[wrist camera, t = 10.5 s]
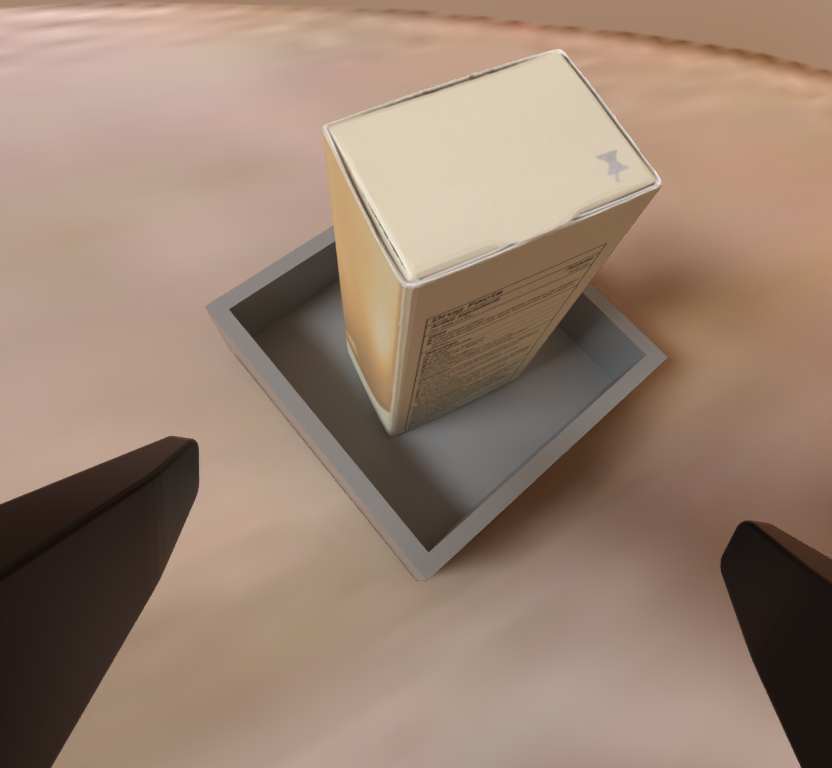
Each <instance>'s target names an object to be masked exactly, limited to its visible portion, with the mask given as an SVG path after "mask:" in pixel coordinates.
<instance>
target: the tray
mask: <svg viewBox="0 0 832 768" xmlns="http://www.w3.org/2000/svg"><path fill="white" fill-rule="evenodd" d="M205 308H206V310H207V311H208V313H209V315H210V317H211V318H212V320H213V322H214V323H215V325H216V327H217V329H218V330H219V332H220V334H221V335H222V337H223V339H224V341H225V342H226V344H227V346H228V347H229V348H230V350H231V351H232V352H233V353H234V355H235V356H236V357H237V358H238V360H239V361H240V362H241V363H242V365H243V366H244V367H245V368H246V370H247V371H248V372H249V373H250V375H251V376H252V377H253V378H254V379H255V381H256V382H257V383H258V384H259V386H260V387H261V388H262V389H263V391H264V392H265V393H266V394H267V396H268V397H269V398H270V399H271V401H272V402H273V403H274V404H275V406H276V407H277V408H278V409H279V411H280V412H281V413H282V414H283V416H284V417H285V418H286V419H287V421H288V422H289V423H290V424H291V425H292V427H293V428H294V429H295V430H296V432H297V433H298V434H299V435H300V437H301V438H302V439H303V440H304V442H305V443H306V444H307V445H308V447H309V448H310V449H311V450H312V452H313V453H314V454H315V455H316V457H317V458H318V459H319V460H320V462H321V463H322V464H323V465H324V467H325V468H326V469H327V470H328V471H329V473H330V474H331V475H332V476H333V478H334V479H335V480H336V481H337V483H338V484H339V485H340V486H341V488H342V489H343V490H344V491H345V493H346V494H347V495H348V496H349V498H350V499H351V500H352V501H353V503H354V504H355V505H356V506H357V508H358V509H359V510H360V511H361V513H362V514H363V515H364V516H365V517H366V519H367V520H368V521H369V522H370V524H371V525H372V526H373V527H374V529H375V530H376V531H377V532H378V534H379V535H380V536H381V537H382V539H383V540H384V541H385V542H386V544H387V545H388V546H389V547H390V549H391V550H392V551H393V552H394V554H395V555H396V556H397V557H398V559H399V560H400V561H401V562H402V563H403V565H404V566H405V567H406V568H407V570H408V571H409V572H410V573H411V575H412V576H413V577H414V578H415V580H416V581H427V580H428V579H429V578H431V577H432V576H433V575H434V574H435V573H436V572H437V571H438V570H439V569H440V568H441V567H442V566H444V565H445V564H446V563H447V562H448V561H449V560H450V559H451V558H452V557H453V556H454V555H455V554H456V553H458V552H459V551H460V550H461V549H462V548H463V547H464V546H465V545H466V544H467V543H468V542H469V541H470V540H472V539H473V538H474V537H475V536H476V535H477V534H478V533H479V532H480V531H481V530H482V529H483V528H484V527H486V526H487V525H488V524H489V523H490V522H491V521H492V520H493V519H494V518H495V517H496V516H497V515H499V514H500V513H501V512H502V511H503V510H504V509H505V508H506V507H507V506H508V505H509V504H510V503H511V502H513V501H514V500H515V499H516V498H517V497H518V496H519V495H520V494H521V493H522V492H523V491H524V490H525V489H527V488H528V487H529V486H530V485H531V484H532V483H533V482H534V481H535V480H536V479H537V478H538V477H539V476H541V475H542V474H543V473H544V472H545V471H546V470H547V469H548V468H549V467H550V466H551V465H552V464H553V463H555V462H556V461H557V460H558V459H559V458H560V457H561V456H562V455H563V454H564V453H565V452H566V451H568V450H569V449H570V448H571V447H572V446H573V445H574V444H575V443H576V442H577V441H578V440H579V439H580V438H582V437H583V436H584V435H585V434H586V433H587V432H588V431H589V430H590V429H591V428H592V427H593V426H594V425H596V424H597V423H598V422H599V421H600V420H601V419H602V418H603V417H604V416H605V415H606V414H607V413H608V412H610V411H611V410H612V409H613V408H614V407H615V406H616V405H617V404H618V403H619V402H620V401H621V400H622V399H624V398H625V397H626V396H627V395H628V394H629V393H630V392H631V391H632V390H633V389H634V388H635V387H637V386H638V385H639V384H640V383H641V382H642V381H643V380H644V379H645V378H646V377H647V376H648V375H649V374H651V373H652V372H653V371H654V370H655V369H656V368H657V367H658V366H659V365H660V364H661V363H662V362H663V361H665V360H666V359H667V358H668V357H667V356H666V355H665V354H664V353H663V352H662V351H661V350H660V349H659V348H658V347H657V346H656V345H655V344H654V343H653V342H652V341H651V340H650V339H649V338H647V337H646V336H645V335H644V334H643V333H642V332H641V331H640V330H639V329H638V328H637V327H636V326H635V325H634V324H633V323H632V322H631V321H630V320H629V319H628V318H627V317H626V316H625V315H624V314H623V313H622V312H621V311H620V310H619V309H618V308H617V307H616V306H615V305H614V304H613V303H612V302H611V301H610V300H609V299H607V298H606V297H605V296H604V295H603V294H602V293H601V292H600V291H599V290H598V289H597V288H596V287H595V286H594V285H593V284H592V283H591V282H589V284H588V285H587V286H586V288H585V289H584V290H583V292H582V293H581V294H580V296H579V297H578V298H577V300H576V301H575V302H574V304H573V305H572V306H571V308H570V309H569V310H568V312H567V313H566V314H565V316H564V317H563V318H562V320H561V321H560V322H559V324H558V325H557V326H556V328H555V329H554V330H553V332H552V333H551V334H550V336H549V337H548V338H547V340H546V341H545V342H544V344H543V345H542V346H541V348H540V349H539V350H538V352H537V353H536V354H535V356H534V357H533V358H532V360H531V361H530V363H529V364H528V365H527V366H526V368H525V369H524V370H523V372H522V373H521V375H520V376H519V377H518V378H517V379H515V380H513V381H511V382H509V383H507V384H505V385H503V386H502V387H500V388H498V389H496V390H494V391H492V392H490V393H488V394H486V395H484V396H482V397H480V398H478V399H476V400H474V401H472V402H470V403H467V404H465V405H463V406H461V407H459V408H457V409H455V410H453V411H451V412H449V413H446V414H444V415H442V416H440V417H438V418H436V419H433V420H431V421H429V422H427V423H424V424H422V425H420V426H418V427H415V428H413V429H411V430H408V431H406V432H404V433H401V434H399V435H396V436H389V435H388V434H387V433H386V431H385V429H384V427H383V425H382V423H381V421H380V419H379V417H378V415H377V413H376V411H375V409H374V407H373V405H372V403H371V401H370V399H369V397H368V395H367V393H366V390H365V388H364V386H363V384H362V382H361V379H360V377H359V375H358V373H357V371H356V369H355V366H354V364H353V362H352V359H351V357H350V355H349V353H348V348H347V341H346V331H345V321H344V313H343V304H342V296H341V288H340V278H339V270H338V260H337V252H336V241H335V234H334V225H333V226H332V227H330V228H329V229H327V230H326V231H324V232H322V233H321V234H319V235H318V236H316V237H314V238H313V239H311V240H310V241H308V242H306V243H305V244H303V245H302V246H300V247H299V248H297V249H295V250H294V251H292V252H291V253H289V254H287V255H286V256H284V257H283V258H281V259H280V260H278V261H276V262H275V263H273V264H272V265H270V266H268V267H267V268H265V269H264V270H262V271H260V272H259V273H257V274H256V275H254V276H253V277H251V278H249V279H248V280H246V281H245V282H243V283H241V284H240V285H238V286H237V287H235V288H234V289H232V290H230V291H229V292H227V293H226V294H224V295H222V296H221V297H219V298H218V299H216V300H214V301H213V302H211V303H210V304H208V305H207V306H205Z"/></svg>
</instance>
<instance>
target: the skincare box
mask: <svg viewBox="0 0 832 768" xmlns="http://www.w3.org/2000/svg"><path fill="white" fill-rule="evenodd" d="M323 137H324V145H325V154H326V162H327V171H328V180H329V188H330V196H331V206H332V216H333V224H334V234H335V241H336V252H337V260H338V270H339V278H340V288H341V296H342V304H343V313H344V321H345V331H346V341H347V348H348V353H349V355H350V357H351V359H352V362H353V364H354V366H355V369H356V371H357V373H358V375H359V377H360V379H361V382H362V384H363V386H364V388H365V390H366V393H367V395H368V397H369V399H370V401H371V403H372V405H373V407H374V409H375V411H376V413H377V415H378V417H379V419H380V421H381V423H382V425H383V427H384V429H385V431H386V433H387V434H388V435H389V436H396V435H399V434H401V433H404V432H406V431H408V430H411V429H413V428H415V427H418V426H420V425H422V424H424V423H427V422H429V421H431V420H433V419H436V418H438V417H440V416H442V415H444V414H446V413H449V412H451V411H453V410H455V409H457V408H459V407H461V406H463V405H465V404H467V403H470V402H472V401H474V400H476V399H478V398H480V397H482V396H484V395H486V394H488V393H490V392H492V391H494V390H496V389H498V388H500V387H502V386H503V385H505V384H507V383H509V382H511V381H513V380H515V379H517V378H518V377H519V376H520V375H521V373H522V372H523V370H524V369H525V368H526V366H527V365H528V364H529V363H530V361H531V360H532V358H533V357H534V356H535V354H536V353H537V352H538V350H539V349H540V348H541V346H542V345H543V344H544V342H545V341H546V340H547V338H548V337H549V336H550V334H551V333H552V332H553V330H554V329H555V328H556V326H557V325H558V324H559V322H560V321H561V320H562V318H563V317H564V316H565V314H566V313H567V312H568V310H569V309H570V308H571V306H572V305H573V304H574V302H575V301H576V300H577V298H578V297H579V296H580V294H581V293H582V292H583V290H584V289H585V288H586V286H587V285H588V284H589V282H590V281H591V280H592V279H593V277H594V276H595V275H596V273H597V272H598V271H599V269H600V268H601V266H602V265H603V264H604V262H605V261H606V260H607V258H608V257H609V256H610V255H611V253H612V252H613V251H614V249H615V248H616V246H617V245H618V244H619V242H620V241H621V240H622V238H623V237H624V236H625V234H626V233H627V232H628V230H629V229H630V228H631V226H632V225H633V224H634V222H635V221H636V220H637V218H638V217H639V216H640V214H641V213H642V212H643V210H644V209H645V208H646V206H647V205H648V204H649V202H650V201H651V200H652V198H653V197H654V196H655V194H656V193H657V192H658V191H659V189H660V188H661V186H662V180H661V179H660V177H659V175H658V174H657V172H656V171H655V170H654V169H653V167H652V166H651V165H650V164H649V163H648V161H647V160H646V159H645V158H644V156H643V154H642V153H641V151H640V150H639V148H638V147H637V146H636V145H635V143H634V142H633V140H632V139H631V138H630V136H629V135H628V133H627V132H626V131H625V129H624V128H623V127H622V125H621V124H620V123H619V121H618V120H617V119H616V117H615V116H614V115H613V113H612V112H611V111H610V109H609V108H608V106H607V105H606V104H605V102H604V101H603V100H602V98H601V97H600V96H599V95H598V93H597V92H596V91H595V89H594V88H593V86H592V85H591V84H590V83H589V81H588V80H587V79H586V77H585V76H584V75H583V74H582V73H581V72H580V71H579V70H578V68H577V67H576V66H575V64H574V63H573V62H572V61H571V60H570V58H569V57H568V55H567V54H566V53H565V52H564V51H563V50H560V49H555V50H551V51H548V52H544V53H541V54H536V55H532V56H529V57H526V58H523V59H519V60H515V61H511V62H509V63H505V64H502V65H498V66H495V67H492V68H488V69H485V70H483V71H479V72H476V73H472V74H469V75H467V76H464V77H461V78H458V79H455V80H451V81H448V82H445V83H442V84H440V85H437V86H433V87H430V88H427V89H424V90H421V91H419V92H415V93H413V94H409V95H406V96H404V97H401V98H398V99H395V100H392V101H389V102H386V103H383V104H381V105H378V106H375V107H373V108H370V109H366V110H363V111H361V112H358V113H356V114H353V115H350V116H348V117H345V118H342V119H339V120H336V121H333V122H330V123H327V124H325V125H324V127H323Z"/></svg>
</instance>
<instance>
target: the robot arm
mask: <svg viewBox="0 0 832 768" xmlns="http://www.w3.org/2000/svg"><path fill="white" fill-rule="evenodd" d="M198 488H199V447H198V443H197V442H196V441H195V440H194V439H190V438H183V437H176V436H169V437H166V438H164V439H161V440H159V441H156V442H154V443H151V444H149V445H146V446H144V447H141V448H139V449H136V450H134V451H131V452H129V453H126V454H124V455H121V456H119V457H116V458H114V459H111V460H109V461H107V462H104V463H102V464H99V465H97V466H94V467H92V468H89V469H87V470H84V471H82V472H79V473H77V474H74V475H72V476H69V477H67V478H64V479H62V480H59V481H57V482H54V483H52V484H49V485H47V486H44V487H42V488H39V489H37V490H35V491H32V492H30V493H27V494H25V495H22V496H20V497H17V498H15V499H12V500H10V501H7V502H5V503H2V504H0V768H51V767H52V765H53V764H54V762H55V760H56V758H57V757H58V755H59V753H60V751H61V750H62V748H63V746H64V745H65V743H66V741H67V739H68V738H69V736H70V734H71V733H72V731H73V729H74V727H75V726H76V724H77V722H78V720H79V719H80V717H81V715H82V714H83V712H84V710H85V708H86V707H87V705H88V703H89V702H90V700H91V698H92V696H93V695H94V693H95V691H96V689H97V688H98V686H99V684H100V683H101V681H102V679H103V677H104V676H105V674H106V672H107V671H108V669H109V667H110V665H111V664H112V662H113V660H114V658H115V657H116V655H117V653H118V652H119V650H120V648H121V646H122V645H123V643H124V641H125V640H126V638H127V636H128V634H129V633H130V631H131V629H132V627H133V626H134V624H135V622H136V621H137V619H138V617H139V615H140V614H141V612H142V610H143V609H144V607H145V605H146V603H147V602H148V600H149V598H150V596H151V595H152V593H153V591H154V589H155V587H156V586H157V584H158V582H159V580H160V578H161V576H162V574H163V572H164V569H165V567H166V565H167V563H168V561H169V558H170V556H171V554H172V551H173V549H174V547H175V544H176V542H177V540H178V538H179V535H180V533H181V531H182V528H183V526H184V524H185V522H186V519H187V517H188V515H189V512H190V510H191V508H192V505H193V503H194V501H195V498H196V496H197V493H198ZM720 567H721V573H722V576H723V579H724V582H725V585H726V588H727V590H728V593H729V596H730V599H731V602H732V605H733V608H734V611H735V613H736V616H737V619H738V622H739V625H740V628H741V631H742V633H743V636H744V639H745V642H746V645H747V648H748V650H749V653H750V656H751V658H752V661H753V663H754V665H755V668H756V670H757V672H758V675H759V677H760V679H761V681H762V683H763V686H764V688H765V690H766V692H767V694H768V697H769V699H770V701H771V703H772V705H773V707H774V710H775V712H776V714H777V716H778V718H779V721H780V723H781V725H782V727H783V729H784V731H785V734H786V736H787V738H788V740H789V742H790V745H791V747H792V749H793V751H794V753H795V755H796V758H797V760H798V762H799V764H800V766H801V768H832V559H830V558H828V557H827V556H825V555H823V554H821V553H820V552H818V551H816V550H815V549H813V548H811V547H809V546H808V545H806V544H804V543H803V542H801V541H799V540H797V539H796V538H794V537H792V536H791V535H789V534H787V533H785V532H784V531H782V530H780V529H779V528H777V527H775V526H773V525H771V524H768V523H763V522H756V521H748V520H747V521H743V522H741V523H740V524H739V525H738V526H737V528H736V530H735V532H734V534H733V536H732V538H731V540H730V542H729V544H728V546H727V547H726V549H725V551H724V553H723V555H722V558H721V565H720Z"/></svg>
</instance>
